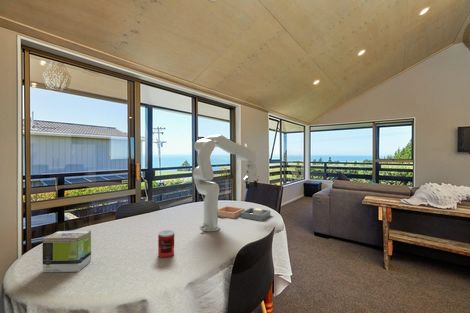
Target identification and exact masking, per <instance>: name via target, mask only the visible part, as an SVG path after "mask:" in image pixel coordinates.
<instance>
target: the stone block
mask: <svg viewBox="0 0 470 313" xmlns="http://www.w3.org/2000/svg"><path fill="white" fill-rule="evenodd" d="M263 210H264V209H263V208H257V207H256V208H255V209H253V214H257V215H262V214H263Z"/></svg>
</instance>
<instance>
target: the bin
mask: <svg viewBox="0 0 470 313" xmlns="http://www.w3.org/2000/svg"><path fill="white" fill-rule="evenodd" d="M253 209H255V208H253V207H249V208H247V209H245V211H243V212H241V214H240V216H239V217H240V218H241V219H247V220H252V219H253V220H252V221H259V222H263V221H264V220H266V219H268V218H269V217H270V216H271V210H269V209H263V214H262V215H257V214H250V213H253Z"/></svg>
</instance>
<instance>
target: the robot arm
mask: <svg viewBox="0 0 470 313" xmlns="http://www.w3.org/2000/svg"><path fill="white" fill-rule="evenodd" d="M193 146H194V147H193V148H194V150H195V151H196V152H197V153H198V154H197V157H196V163H197V166H196V167H195V168H194V169H193V172H192V178H193V180H194V183H195V188H196V190H197V192H198V193H199V194H201V195H204V196H205V197H204V199H203V222H202V225H200V226H199V229H200V230H202V231H203V232H217V231H219V230H220V228H221V226H220V225H218V223H219V220H218V218H219V217H218V209H219V196H220V195H219V194H220V186H219V185H218V183H216V182H214V181H212V180H213V179H214V171H213V170H214V169H213V166H212V162H211V155H212V154H213V151H214V150H215V148H219V149H221V150H223V151H224V152H226V153H228V154H232V155H236V158H237V159H238V160H239V161H246V170H245V177H244V178H243V181H244V184H245V189H247V190H250V183H251V182H253V187H254V188H258V182H259V177H260V176H259V175H258V168H257V152H256V150H255V149H254V150H252V149H250V148H248V147H247V146H244V145H242V144H239V143H236V142H234V141H232V140H231V139H229V138H227V137H226V136H224V135H222V134H212V135H209V136H207V137H204V138H201V139H198V140H196V141H195V142H194V145H193Z"/></svg>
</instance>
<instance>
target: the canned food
mask: <svg viewBox="0 0 470 313" xmlns="http://www.w3.org/2000/svg"><path fill="white" fill-rule="evenodd" d="M157 237H158V240H157V241H158V243H157V244H158V246H157V247H158V253H157V254H158V257H159V258H162V259H165V258H171V257H172V256H174V254H175V231H173V230H171V229H169V230H167V229H166V230H161V231H159V232H158V236H157Z"/></svg>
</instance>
